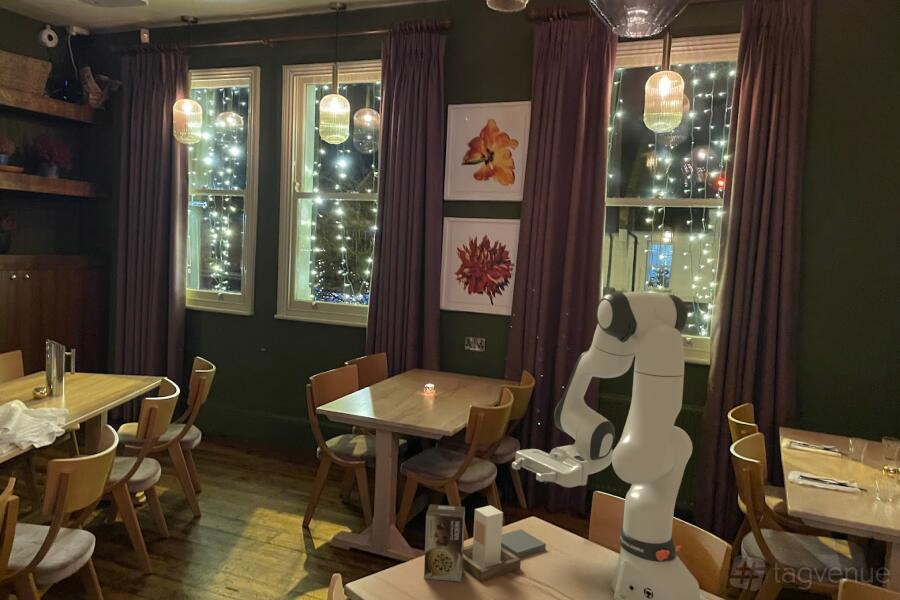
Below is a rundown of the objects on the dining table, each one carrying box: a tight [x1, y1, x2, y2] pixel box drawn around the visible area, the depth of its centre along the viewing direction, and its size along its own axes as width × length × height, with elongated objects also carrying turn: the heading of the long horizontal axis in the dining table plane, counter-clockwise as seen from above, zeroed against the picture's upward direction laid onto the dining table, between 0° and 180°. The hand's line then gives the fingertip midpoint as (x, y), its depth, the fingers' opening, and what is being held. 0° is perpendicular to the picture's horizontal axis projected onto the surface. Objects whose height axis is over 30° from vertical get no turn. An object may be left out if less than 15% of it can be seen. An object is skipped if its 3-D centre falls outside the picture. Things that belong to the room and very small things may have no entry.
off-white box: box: [471, 505, 504, 568], centre depth 164 cm, size 5×5×14 cm
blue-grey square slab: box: [501, 528, 547, 558], centre depth 176 cm, size 10×10×2 cm
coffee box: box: [423, 503, 466, 582], centre depth 159 cm, size 9×6×16 cm
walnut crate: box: [463, 544, 522, 582], centre depth 165 cm, size 12×12×2 cm
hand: (525, 471), depth 169 cm, fingers open, 8 cm apart
